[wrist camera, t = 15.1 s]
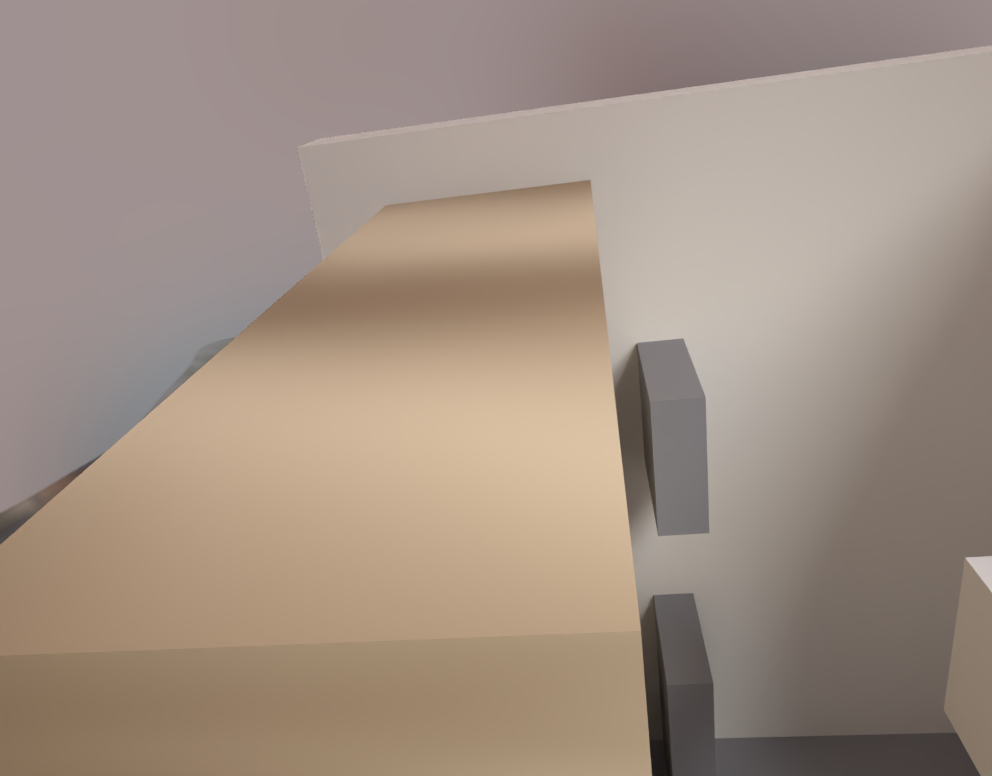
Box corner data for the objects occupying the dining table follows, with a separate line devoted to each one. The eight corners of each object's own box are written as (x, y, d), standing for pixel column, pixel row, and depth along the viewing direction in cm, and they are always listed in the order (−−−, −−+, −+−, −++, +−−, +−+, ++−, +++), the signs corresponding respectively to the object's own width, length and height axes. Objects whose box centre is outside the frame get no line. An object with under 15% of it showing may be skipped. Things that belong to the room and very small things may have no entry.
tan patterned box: (712, 1581, 10) (640, 630, 3) (415, 1541, 10) (-131, 660, 4) (640, 773, 21) (591, 179, 14) (496, 774, 21) (385, 205, 15)
